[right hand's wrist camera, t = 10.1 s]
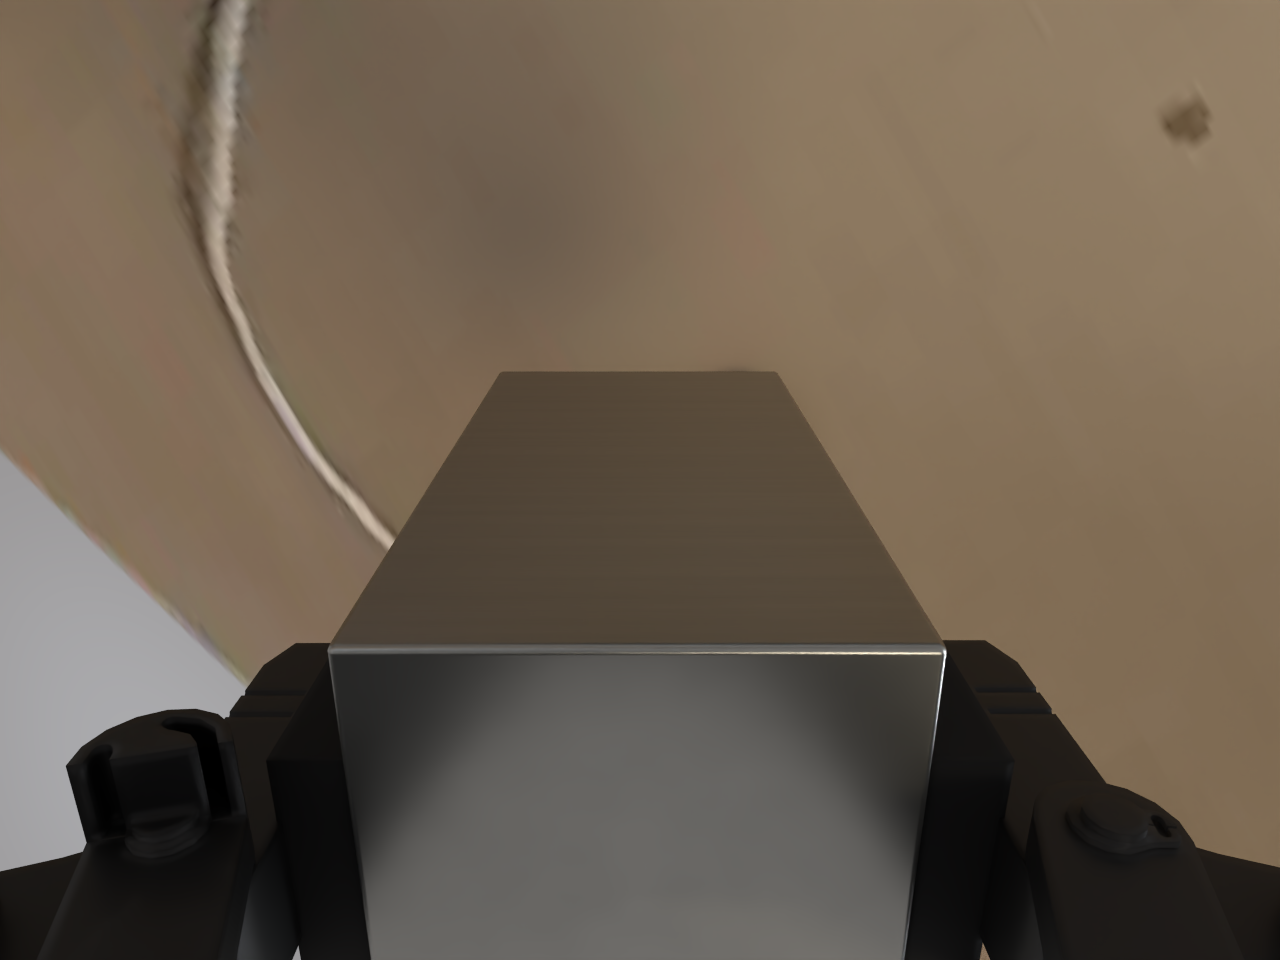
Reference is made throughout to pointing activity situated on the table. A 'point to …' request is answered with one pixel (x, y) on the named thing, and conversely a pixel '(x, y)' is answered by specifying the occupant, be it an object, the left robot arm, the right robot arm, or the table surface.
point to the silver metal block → (637, 689)
